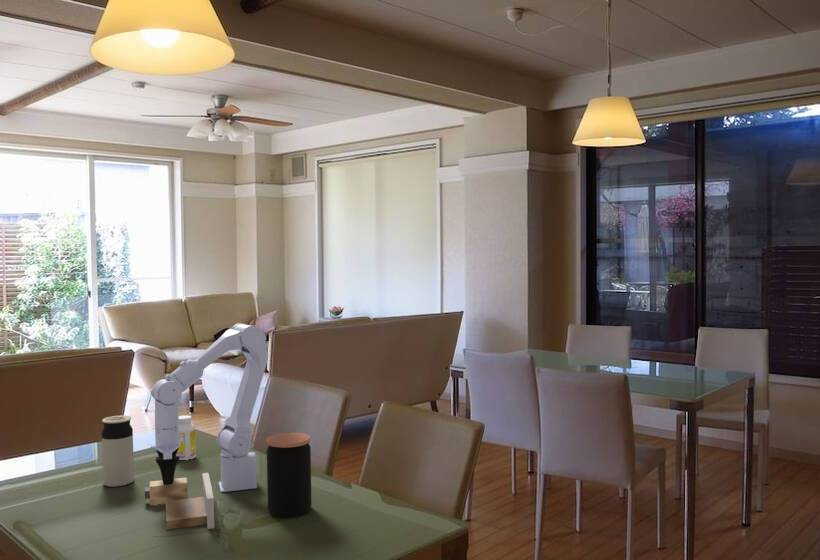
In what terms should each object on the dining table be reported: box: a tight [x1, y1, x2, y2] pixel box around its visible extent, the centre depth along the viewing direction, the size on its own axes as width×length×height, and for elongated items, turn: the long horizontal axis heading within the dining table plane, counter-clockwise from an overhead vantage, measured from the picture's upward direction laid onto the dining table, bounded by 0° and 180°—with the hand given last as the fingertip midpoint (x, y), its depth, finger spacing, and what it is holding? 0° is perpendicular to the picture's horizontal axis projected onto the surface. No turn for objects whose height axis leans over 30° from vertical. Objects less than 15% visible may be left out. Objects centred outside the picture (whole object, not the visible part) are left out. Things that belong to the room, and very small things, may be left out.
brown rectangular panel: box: [165, 496, 207, 531], centre depth 173 cm, size 9×14×2 cm, turn 19°
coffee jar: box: [266, 432, 312, 519], centre depth 176 cm, size 11×11×18 cm
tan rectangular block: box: [144, 477, 189, 507], centre depth 183 cm, size 10×4×5 cm, turn 109°
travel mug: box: [101, 415, 135, 488], centre depth 198 cm, size 8×8×18 cm
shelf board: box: [201, 472, 215, 530], centre depth 174 cm, size 2×20×7 cm, turn 19°
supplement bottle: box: [176, 415, 197, 461], centre depth 221 cm, size 7×7×13 cm
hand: (168, 479), depth 183 cm, fingers open, 7 cm apart
